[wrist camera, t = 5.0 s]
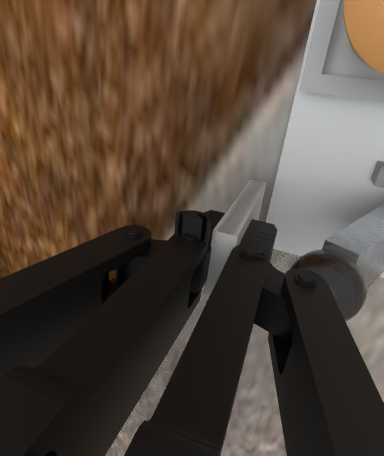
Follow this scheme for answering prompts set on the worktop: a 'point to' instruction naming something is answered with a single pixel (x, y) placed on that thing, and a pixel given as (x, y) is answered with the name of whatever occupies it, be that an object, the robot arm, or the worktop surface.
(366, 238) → the lever
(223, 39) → the worktop surface
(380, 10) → the plunger orange
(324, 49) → the panel
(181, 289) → the robot arm
